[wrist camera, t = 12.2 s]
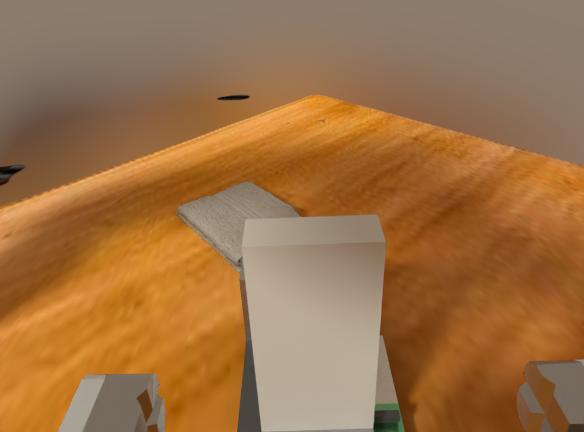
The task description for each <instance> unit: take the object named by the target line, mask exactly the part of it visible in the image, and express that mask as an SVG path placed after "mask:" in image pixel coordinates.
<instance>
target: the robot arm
mask: <svg viewBox="0 0 584 432" xmlns="http://www.w3.org/2000/svg"><path fill="white" fill-rule="evenodd" d="M523 375H524V376H525V378H526V380H527V381H526V382H525V383H524V384H523V385H522V386H520V387H519V389H518V393H517V398H516V401H517V412H518V415H519V419H520V422H521V424H522V426H523V429H524V431H525V432H584V359H581V360H550V361H529V362H528V363H527V364H526V366H525V369H524V372H523ZM158 389H159V381H158V378H157V375H156V374H98V375H86V376H85V377H84V378H83V379H82V380H81V382H80V384H79V386H78V388H77V391H76V393H75V395H74V397H73V400H72V402H71V404H70V406H69V408H68V411H67V413H66V415H65V417H64V419H63V422H62V424H61V426H60V428H59V430H58V432H164V429H165V417H166V415H165V405H164V401H163V398H162V397H160V396H159V395H158V394H157V393H158Z"/></svg>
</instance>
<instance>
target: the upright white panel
mask: <svg viewBox="0 0 584 432" xmlns="http://www.w3.org/2000/svg"><path fill="white" fill-rule="evenodd" d="M385 250H386V240H385V237H384V233H383V230H382V227H381V224H380V220H379V217H378V214H375V215H348V216H320V217H293V218H266V219H246V220H245V227H244V234H243V241H242V255H243V265H244V274H245V283H246V292H247V301H248V311H249V320H250V329H251V338H252V347H253V357H254V366H255V375H256V384H257V393H258V403H259V412H260V421H261V430H262V432H374V430H373V424H374V423H381V422H400V413H399V410H377V411H374V409H375V395H376V381H377V366H378V352H379V337H380V323H381V308H382V294H383V279H384V265H385Z"/></svg>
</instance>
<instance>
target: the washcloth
mask: <svg viewBox="0 0 584 432" xmlns="http://www.w3.org/2000/svg"><path fill="white" fill-rule="evenodd" d="M177 216H179V217H180V219H182V220H183V221H184V222H185V223H186V224H187V225H188V226H189V227H190V228H192V229H193V230H194V231H195V232H196V233H197V234H198V236H200V237H201V238H202V240H205V242H207V243H208V244H209V245H211V246H212V248H214V249H215V251H217V252H219V254H220V255H221V256H222V257H224V258H225V260H226V261H227V262H228V263H229V264H230V265H231V266H232V267H233V268H234V269H235V271H237V272H239V273H240V272H241V264H242V257H243V255H242V241H243V234H244V227H245V220H246V219H266V218H293V217H301V216H300V215H299V214H298V213H297V212H296V211H295V210H294V208H293V206H291V205H290V204H286V203H284V202H283V201H281V200H279V199H278V198H276V197H275V196H274V195H272V194H270V193H269V192H267V191H265V190H263V189H261V188H260V187H258V186H257V185H255V184H254V183H253V182H249V181H247V182H244V183H243V182H241V183H240V184H238V185H234V186H232V187H229V188H227V189H226V190H224V191H222V192H219V193H217V194H214V195H213V196H206V197H203V198H199V199H197V200H194V201H192V202H188V203H186V204H184V205H181V206H179V207H178V209H177Z"/></svg>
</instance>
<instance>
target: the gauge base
mask: <svg viewBox="0 0 584 432" xmlns="http://www.w3.org/2000/svg"><path fill="white" fill-rule="evenodd" d="M239 281H240V290H241V298H242V307H243V316H244V324H245V333H246V350H245V360H244V370H243V380H242V389H241V399H240V409H239V419H238V429H237V432H262V430H261V421H260V412H259V403H258V393H257V384H256V375H255V366H254V357H253V347H252V338H251V329H250V320H249V311H248V301H247V292H246V283H245V274H244V265H243V257H242V264H241V272H240V279H239ZM377 410H399V413H400V408H399V404H398V400H397V396H396V391H395V387H394V383H393V378H392V374H391V370H390V365H389V361H388V357H387V352H386V348H385V344H384V339H383V335H380V337H379V352H378V366H377V381H376V395H375V409H374V411H377ZM373 430H374V432H405V430H404V426H403V421H402V417H401V413H400V422H381V423H374V424H373Z"/></svg>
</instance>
